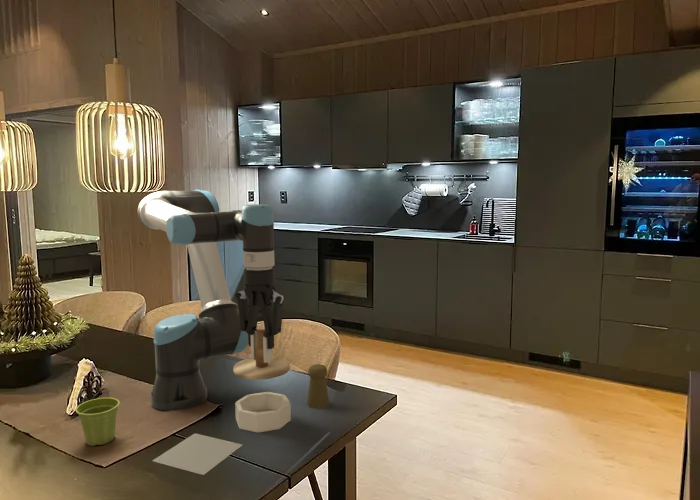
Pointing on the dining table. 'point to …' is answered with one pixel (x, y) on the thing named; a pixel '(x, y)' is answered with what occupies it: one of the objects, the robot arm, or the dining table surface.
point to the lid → (261, 363)
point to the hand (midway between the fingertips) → (261, 359)
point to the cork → (317, 387)
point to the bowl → (262, 412)
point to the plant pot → (98, 420)
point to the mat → (198, 453)
